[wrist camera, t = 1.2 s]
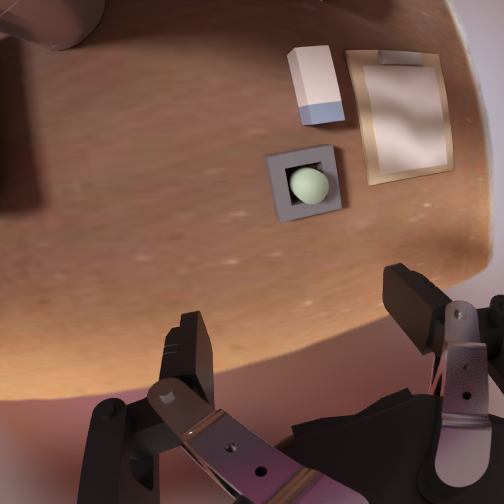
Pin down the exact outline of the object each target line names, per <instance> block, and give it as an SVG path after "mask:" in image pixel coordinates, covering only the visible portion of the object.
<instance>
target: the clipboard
mask: <svg viewBox="0 0 504 504" xmlns="http://www.w3.org/2000/svg"><path fill="white" fill-rule="evenodd" d="M344 52H345V56H346V60H347V64H348V68H349V73H350V77H351V82H352V86H353V91H354V96H355V101H356V107H357V112H358V118H359V123H360V129H361V136H362V142H363V149H364V156H365V164H366V172H367V181H368V185H375V184H380V183H385V182H390V181H395V180H401V179H406V178H411V177H417V176H422V175H428V174H434V173H440V172H446V171H452V170H454V160H453V145H452V134H451V125H450V116H449V109H448V102H447V96H446V90H445V84H444V79H443V74H442V69H441V64H440V60H439V56H438V54H429V53H419V52H407V51H389V50H346V51H344Z"/></svg>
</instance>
